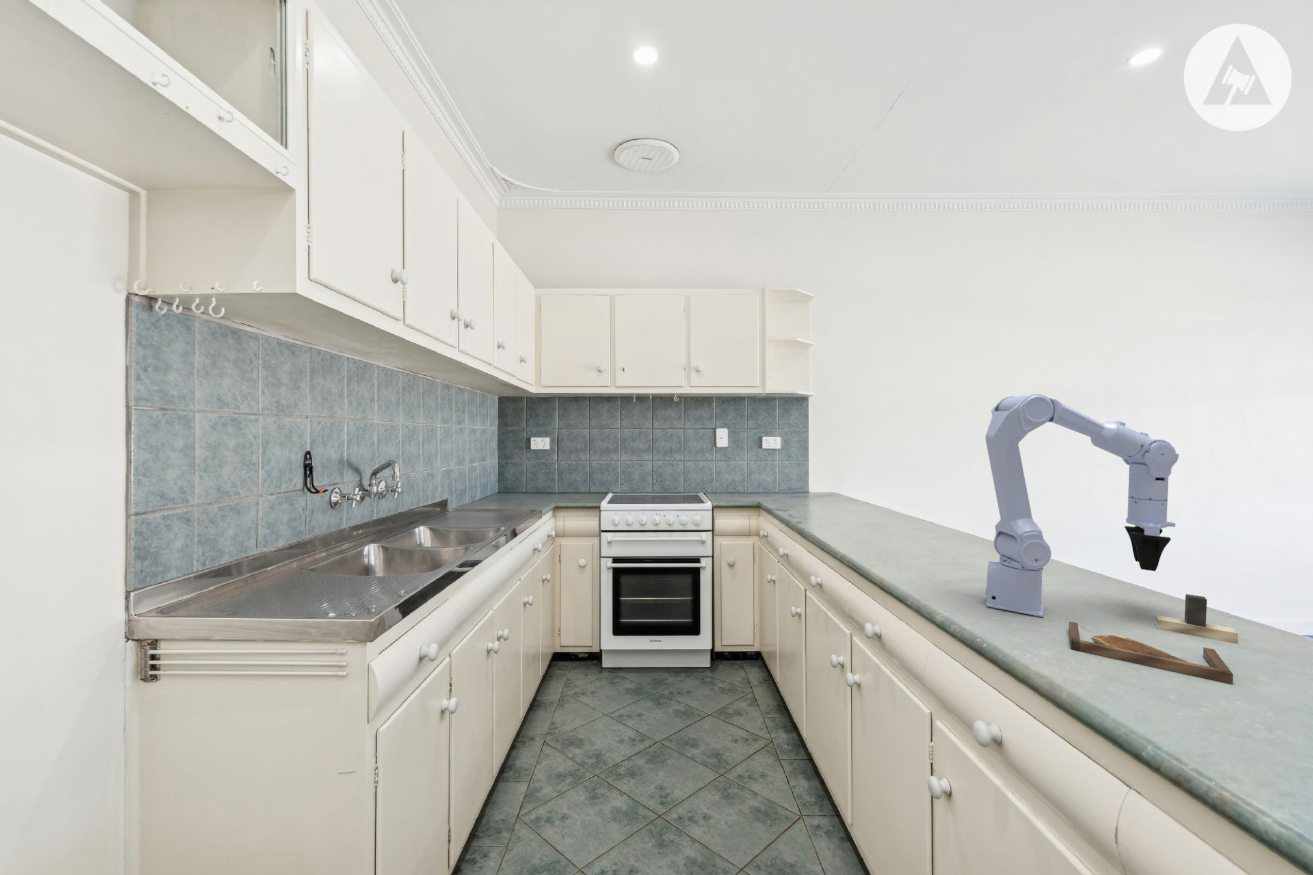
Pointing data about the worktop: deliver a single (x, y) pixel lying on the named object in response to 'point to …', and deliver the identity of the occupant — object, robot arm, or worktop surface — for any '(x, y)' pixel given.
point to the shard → (1130, 645)
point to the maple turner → (1196, 622)
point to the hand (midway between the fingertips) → (1145, 565)
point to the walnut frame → (1156, 658)
